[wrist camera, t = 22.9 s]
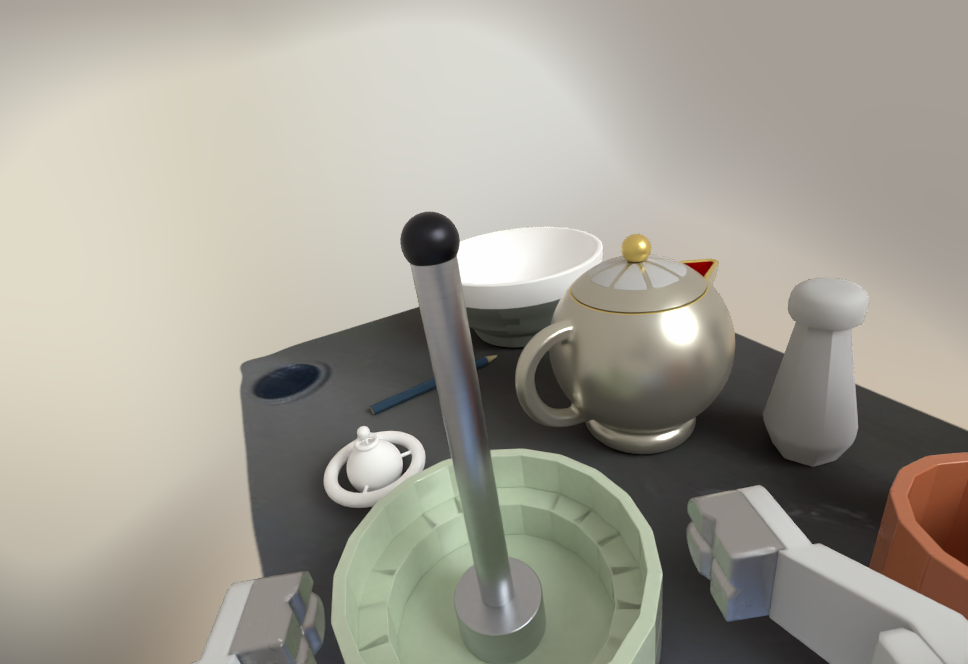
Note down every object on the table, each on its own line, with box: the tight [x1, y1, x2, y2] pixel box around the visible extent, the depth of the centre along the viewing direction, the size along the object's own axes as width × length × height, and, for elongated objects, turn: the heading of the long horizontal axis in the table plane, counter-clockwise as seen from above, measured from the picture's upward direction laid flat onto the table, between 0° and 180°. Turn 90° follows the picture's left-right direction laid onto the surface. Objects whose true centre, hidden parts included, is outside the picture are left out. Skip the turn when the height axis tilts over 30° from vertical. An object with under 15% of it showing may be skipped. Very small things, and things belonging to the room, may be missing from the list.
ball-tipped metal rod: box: [401, 212, 546, 664], centre depth 24 cm, size 5×5×23 cm
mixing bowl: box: [331, 449, 663, 664], centre depth 28 cm, size 16×16×6 cm
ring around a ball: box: [324, 426, 426, 508], centre depth 41 cm, size 8×6×8 cm
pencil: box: [370, 355, 498, 415], centre depth 54 cm, size 1×1×15 cm
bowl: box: [457, 227, 603, 347], centre depth 61 cm, size 20×20×10 cm
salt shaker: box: [763, 278, 869, 467], centre depth 36 cm, size 6×6×13 cm
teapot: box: [515, 234, 735, 454], centre depth 40 cm, size 18×14×16 cm
